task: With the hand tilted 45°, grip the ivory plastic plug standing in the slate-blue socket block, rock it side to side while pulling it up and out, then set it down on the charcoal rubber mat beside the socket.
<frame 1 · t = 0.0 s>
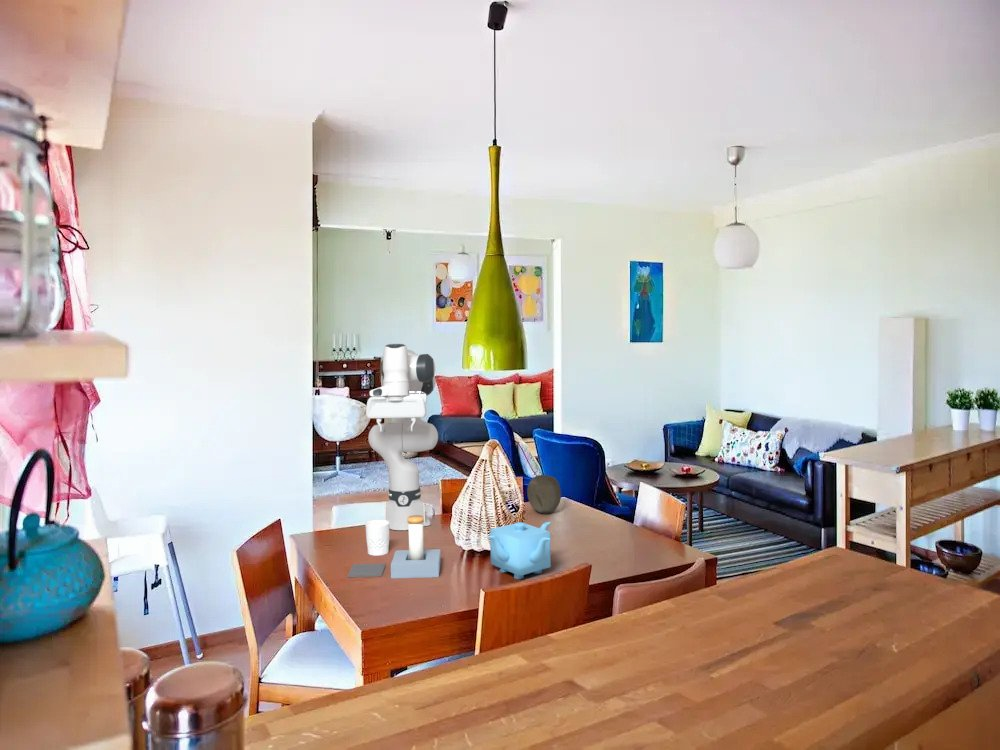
hand: (396, 431, 236), 39 cm above the table, tool pointing down, fingers open, 8 cm apart
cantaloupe: (544, 513, 277), on the table
plug: (416, 543, 211), in the socket
mat: (367, 571, 211), on the table
teakettle: (522, 573, 208), on the table
socket: (416, 569, 211), on the table
white cup: (378, 553, 229), on the table
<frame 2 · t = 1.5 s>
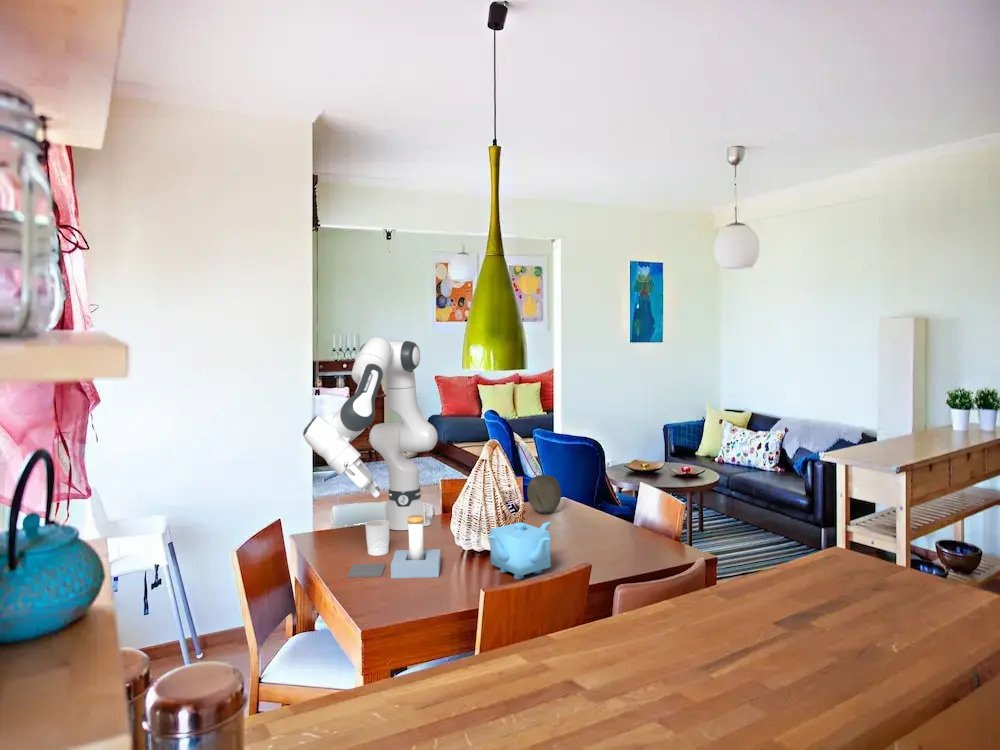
hand: (378, 493, 210), 24 cm above the table, tool tilted 45°, fingers open, 8 cm apart
nothing on the table moved.
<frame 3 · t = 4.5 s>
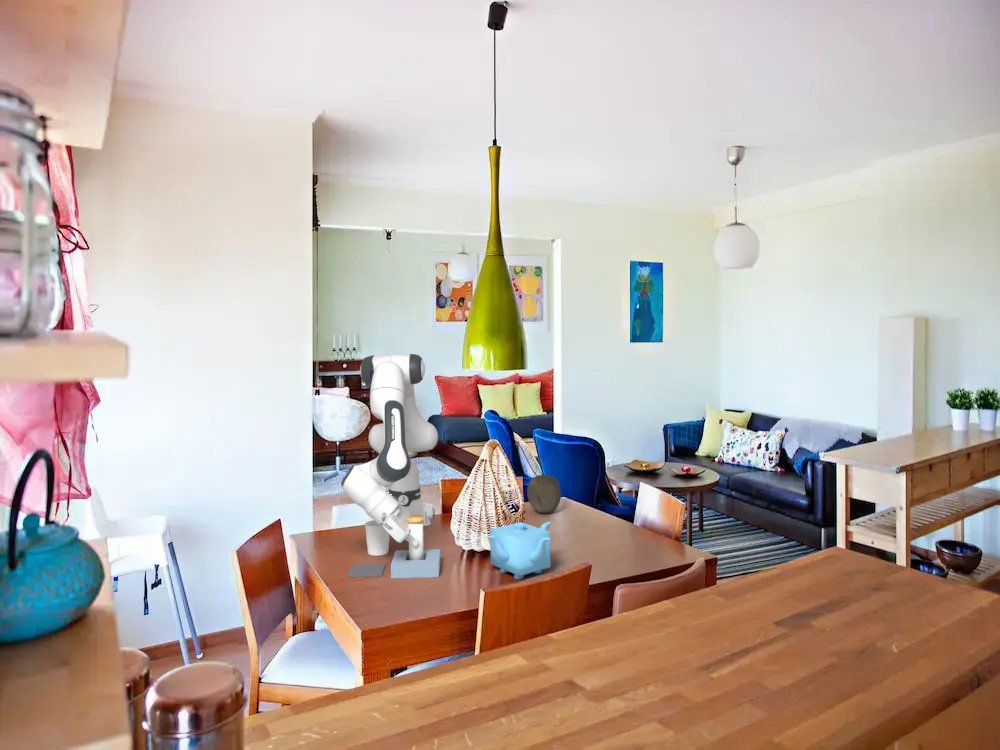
hand: (418, 541, 211), 9 cm above the table, tool tilted 45°, fingers closed on plug, 4 cm apart
plug: (416, 543, 211), in the socket, touching gripper
everything else where it was.
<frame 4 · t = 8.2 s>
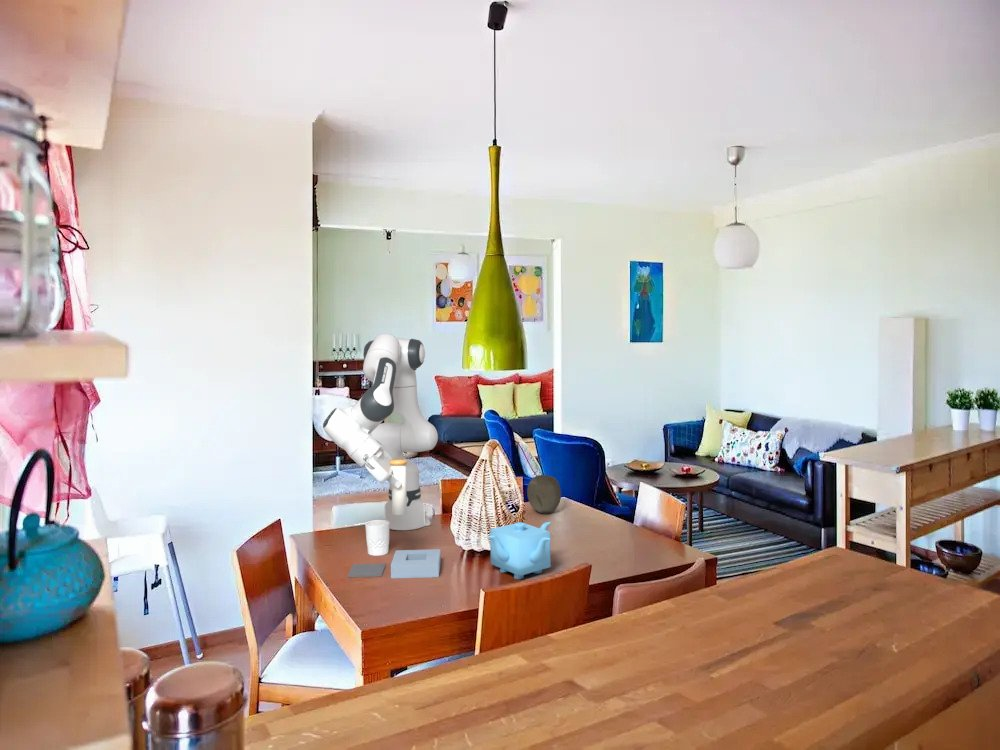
hand: (400, 483, 210), 27 cm above the table, tool tilted 45°, fingers closed on plug, 4 cm apart
plug: (398, 486, 210), point 26 cm above the table, touching gripper
everything else where it was.
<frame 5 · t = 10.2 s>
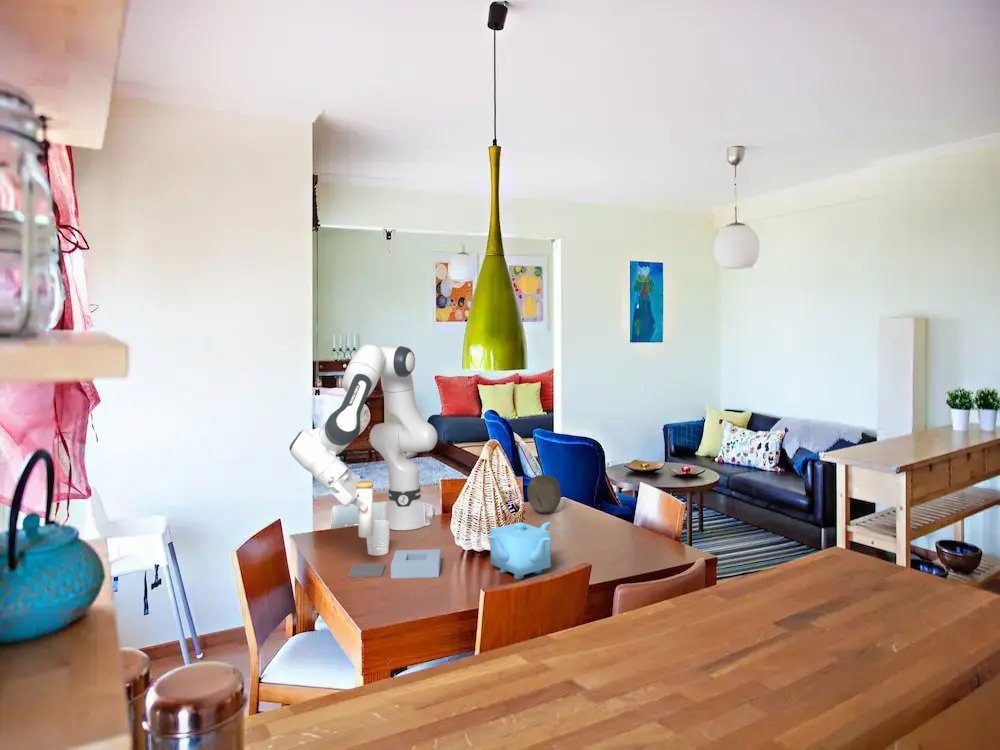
hand: (367, 506, 210), 20 cm above the table, tool tilted 45°, fingers closed on plug, 4 cm apart
plug: (365, 509, 210), point 19 cm above the table, touching gripper
everything else where it was.
when the fingers open (11 cm above the table, at t = 12.1 s): plug drops 2 cm, resting on mat.
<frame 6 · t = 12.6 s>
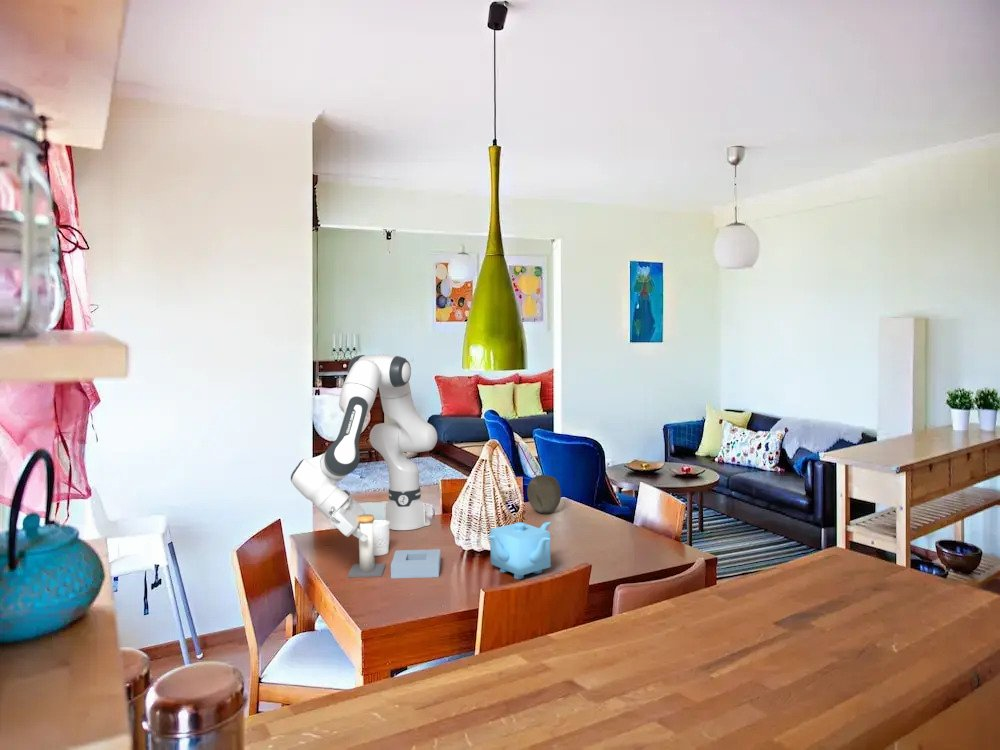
hand: (368, 534, 210), 11 cm above the table, tool tilted 45°, fingers open, 8 cm apart
plug: (366, 542, 210), on the mat, point 9 cm above the table
everything else where it was.
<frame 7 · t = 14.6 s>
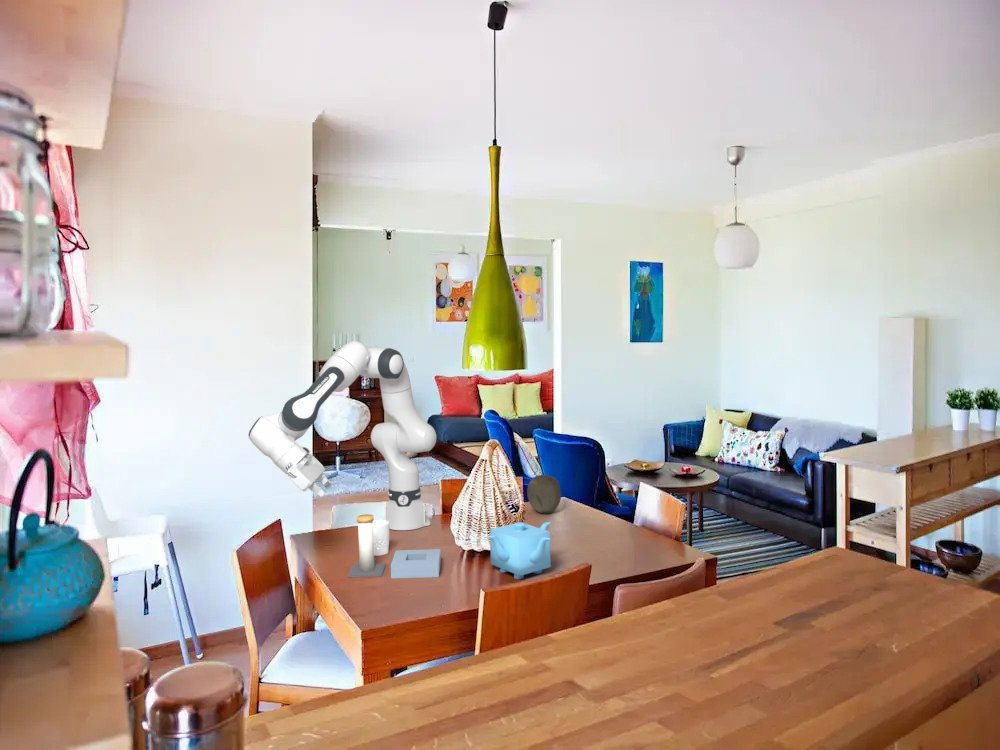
hand: (327, 490, 213), 24 cm above the table, tool tilted 45°, fingers open, 8 cm apart
nothing on the table moved.
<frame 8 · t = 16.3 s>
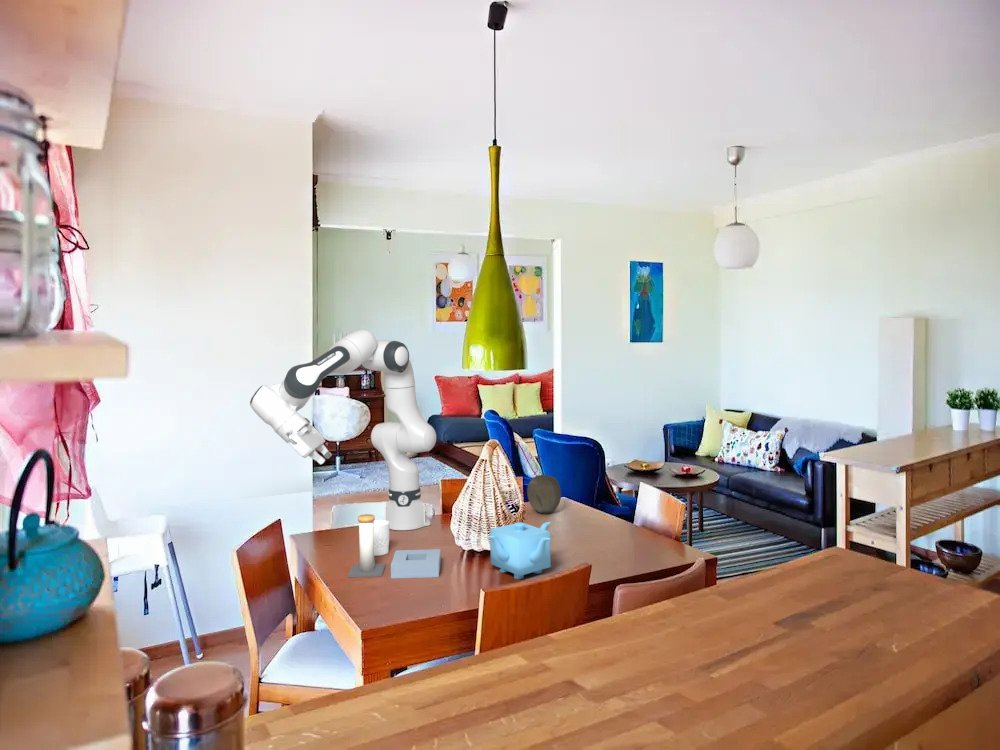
hand: (326, 459, 214), 33 cm above the table, tool tilted 45°, fingers open, 8 cm apart
nothing on the table moved.
at the end: plug inside the target area on the mat (0.1 cm from its centre), point 8.7 cm above the mat's base; plug touching mat; the gripper is holding nothing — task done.
